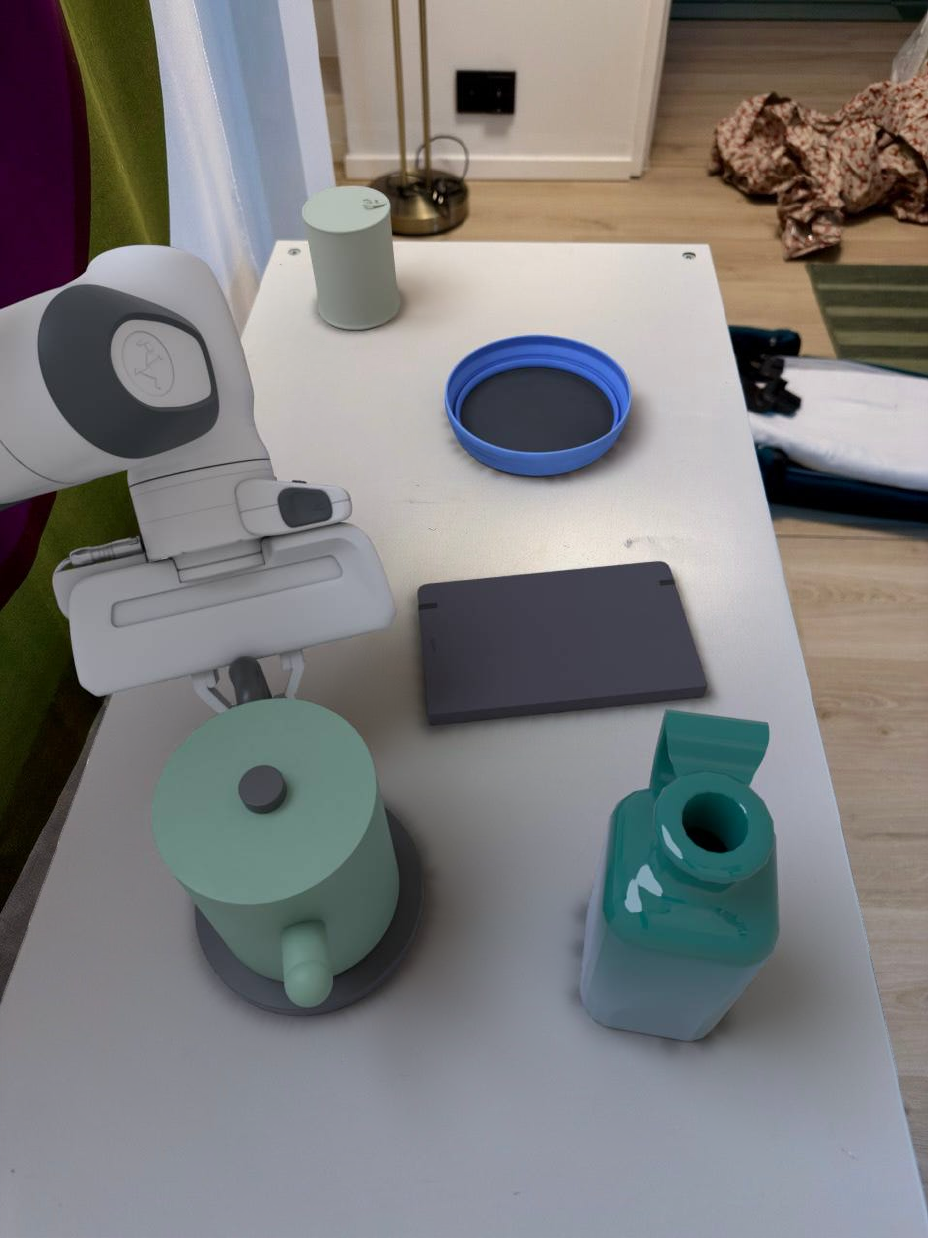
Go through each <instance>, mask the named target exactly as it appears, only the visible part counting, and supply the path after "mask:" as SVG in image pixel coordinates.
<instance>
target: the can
mask: <svg viewBox="0 0 928 1238" xmlns="http://www.w3.org/2000/svg"><path fill="white" fill-rule="evenodd" d="M301 217H302V219H303V223H304V228H305V233H306V238H307V243H308V244H307V245H308V248H309V254H310V259H311V265H312V271H313V277H314V282H315V288H316V295H317V298H318V299H317V301H318V306H317V307H318V313H319V316H320V317H321V319H322V320H323V321H324V322H325V323H326V324H328V325H330V326H332V327H334V328H338V329H341V330H345V331H363V330H364V331H366V330H369V329H370V330H371V329H374V328H376V327H380V326H382V325H384V324H386V323H387V322H389V321H390V320H392V319H394V318H395V316H396V315H397V314H398V312H399V310H400V307H401V299H400V294H399V290H398V280H397V272H396V263H395V262H396V261H395V252H394V243H393V241H394V240H393V229H392V218H391V203H390V200H389V198H388V197H387V196H386V195H385V193H383V192H381V191H379V190H377V189H375V188H372V187H368V186H363V185H342V186H341V185H340V186H335V187H331V188H327V189H324V190H322V191H319V192H317V193H316V194H314V195H312V196H310V197H309V199H307V201H306V202H305V203H304V204H303V206H302V209H301Z"/></svg>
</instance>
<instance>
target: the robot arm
mask: <svg viewBox="0 0 928 1238" xmlns="http://www.w3.org/2000/svg"><path fill="white" fill-rule="evenodd" d="M85 270H86V271H85V272H84V273H83V274H81V275H80V276H79V277H77V278H76V279H74V280H72V281H70V282H68V283H66V284H64V285H62V286H60V287H56V288H52V289H50V290H46V291H44V292H41V293H39V294H36V295H33V296H31V297H30V296H29V297H28V298H25V299H23V300H20V301H18V302H15V303H13V304H10V305H8V306H6V307H5V306H4V307H3V308H0V512H2V511H4V510H7V509H9V508H12V507H14V506H17V505H19V504H22V503H24V502H26V501H28V500H31V499H33V498H35V497H38V496H41V495H45V494H49V493H53V492H56V491H60V490H64V489H68V488H71V487H76V486H78V485H82V484H83V485H84V484H86V483H89V482H92V481H94V480H95V479H99V478H104V477H107V476H110V475H111V476H112V475H115V474H117V473H121V472H124V471H127V473H126V477H127V479H126V480H127V486H128V488H129V489H128V490H129V493H130V496H131V501H132V505H133V510H134V512H135V516H136V519H137V524H138V527H139V531H140V535H135V536H131V537H127V538H122V539H117V540H114V541H111V542H108V543H104V544H101V545H95V546H85V547H84V546H83V547H80V548H77V549H74V550H72V551H70V552H69V557H66V558H65V559H62V561H60V562H59V563H58V564H57V566H56V568H55V569H54V572H53V575H52V588H53V592H54V595H55V599H56V602H57V606H58V608H59V610H60V612H61V614H63V616H64V617H65V618H66V619H67V620H69V621H68V622H69V632H70V641H71V649H72V654H73V659H74V660H73V661H74V665H75V670H76V674H77V679H78V682H79V684H80V686H81V687H82V688H83V689H85V690H86V691H87V692H89V693H90V694H92V695H94V696H95V697H104V696H108V695H113V694H118V693H122V692H125V691H129V690H134V689H138V688H143V687H147V686H151V685H155V684H160V683H164V682H168V681H172V680H176V679H181V678H184V677H188V676H189V677H190V676H191V681H192V684H193V687H194V688H193V689H194V692H195V693H196V694H197V695H198V696H199V697H200V698H201V699H202V700H203V701H204V702H205V703H206V704H207V705H208V706H209V707H210V708H211V709H213V711H215V712H216V713H217V714H220V713H222V712H225V711H227V710H229V709H231V708H233V707H236V706H237V703H235V704H232V703H231V702H230V701H229V700H228V699H227V698H226V697H225V696H224V695H223V693H222V692H221V691H220V690H219V689H218V688H216V687H217V685H218V684H219V682H220V680H221V678H220V674H219V669H223V668H229V667H230V665H231V663H232V662H233V661H234V660H235V659H236V658H238V657H240V656H250V657H253V658H255V659H256V660H257V661H258V660H261V659H265V658H270V657H274V656H279V658H280V663H281V667H282V670H284V671H288V670H289V671H290V673H289V678H288V679H287V683H286V687H285V690H284V692H281V693H277V694H273V695H272V698H273V699H295V700H298V697H297V693H298V689H299V686H300V682H301V679H302V677H303V673H304V671H305V670H304V669H305V667H306V666H305V665H306V663H305V662H306V661H305V657H304V653H303V652H304V651H303V650H304V649H308V648H312V647H317V646H321V645H326V644H331V643H334V642H339V641H342V640H347V639H350V638H351V639H352V638H355V637H360V636H363V635H367V634H372V633H376V632H377V633H378V632H380V631H385V630H387V629H390V627H391V626H392V624H393V622H394V621H395V619H396V617H397V613H398V611H397V606H396V602H395V598H394V595H393V591H392V588H391V584H390V582H389V578H388V576H387V572H386V570H385V568H384V565H383V563H382V560H381V557H380V555H379V553H378V550H377V548H376V546H375V544H374V542H373V541H372V539H371V538H370V536H369V535H368V534H367V532H365V531H364V529H362V528H361V527H359V526H357V525H355V524H353V523H350V522H345V521H347V520H348V519H349V518H350V517H352V514H353V503H352V502H353V501H352V498H351V495H350V493H349V492H348V491H347V490H346V489H345V488H344V487H341V486H335V485H326V484H315V483H308V481H305V480H301V479H298V480H297V479H293V480H291V481H283V480H278V479H277V476H275V473H274V467H273V464H272V460H271V456H270V453H269V452H268V449H267V447H266V446H265V444H264V442H263V440H262V438H261V435H260V434H259V431H258V429H257V424H256V421H255V413H254V411H255V390H254V385H253V381H252V378H251V374H250V370H249V366H248V363H247V359H246V354H245V351H244V346H243V344H242V341H241V340H242V339H241V337H240V334H239V331H238V328H237V324H236V322H235V319H234V317H233V314H232V311H231V309H230V306H229V303H228V300H227V298H226V296H225V294H224V292H223V290H222V287H221V285H220V283H219V281H218V279H217V277H216V275H215V274H214V271H213V270H212V268H211V267H210V265H209V264H208V263H207V262H206V261H204V260H203V259H202V258H201V257H200V256H198V255H196V254H194V253H193V252H192V253H191V252H189V251H187V250H184V249H181V248H178V247H175V246H171V245H164V244H149V243H147V244H146V243H145V244H143V243H142V244H141V243H140V244H139V243H138V244H137V243H136V244H130V245H123V246H119V247H114V248H110V249H108V250H106V251H103V252H102V253H99V254H98V255H97V256H95V257H94V258H93V259H92V260H91V261H90V262H89V264H88V266H87V268H86V269H85ZM70 565H72V567H74V568H69V569H66V568H67V567H68V566H70Z"/></svg>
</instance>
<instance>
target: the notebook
mask: <svg viewBox="0 0 928 1238" xmlns="http://www.w3.org/2000/svg"><path fill="white" fill-rule="evenodd" d="M417 609H418V618H419V628H420V639H421V649H422V660H423V671H424V683H425V694H426V704H427V716H428V723H429V726H434V725H435V726H436V725H444V724H445V725H446V724H454V723H464V722H472V721H482V720H491V719H493V720H494V719H501V718H502V719H503V718H510V717H511V718H512V717H521V716H529V715H539V714H541V715H542V714H548V713H558V712H559V713H560V712H568V711H569V712H570V711H579V710H588V709H599V708H605V707H606V708H607V707H616V706H617V707H618V706H625V705H636V704H644V703H646V704H647V703H653V702H654V703H655V702H665V701H674V700H683V699H692V698H693V699H694V698H703V697H705V695H706V692H707V689H708V682H707V679H706V676H705V673H704V670H703V667H702V663H701V661H700V658H699V654H698V651H697V648H696V645H695V642H694V638H693V635H692V631H691V629H690V626H689V622H688V619H687V616H686V613H685V610H684V608H683V604H682V600H681V597H680V595H679V591H678V588H677V584H676V581H675V579H674V576H673V572H672V569H671V567H670V565H669V564H668V563H667V562H665V561H662V560H654V561H653V560H652V561H645V562H634V563H623V564H612V565H602V566H593V567H583V568H582V567H581V568H573V569H563V570H553V571H543V572H534V573H533V572H531V573H521V574H511V575H510V574H509V575H501V576H500V575H499V576H491V577H481V578H471V579H459V580H451V581H441V582H430V583H424V584H421V585H420V586H419V587H418V589H417Z"/></svg>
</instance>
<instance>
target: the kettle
mask: <svg viewBox="0 0 928 1238" xmlns="http://www.w3.org/2000/svg"><path fill="white" fill-rule="evenodd" d="M228 677H229V680H230V682H231V685H232V686H233V690H234V694H235V695H234V696H235V700H236V704H237V706H236V707H233V708H231V709H229V710H227V711H225V712H222V713H217V715H215V716H214V717H212V718H210V719H208V720H207V721H205V722H204V723H203V724H201V725H200V726H199V727H197V728H196V729H195V730H193V732H191V733H190V734H189V735H188V736H187V737H186V738H185V739H184V740H183V741H182V742H181V743H180V745H179V746H178V747H177V748H176V749H175V750H174V752H173V753H172V755H171V756H170V757H169V759H168V760H167V762H166V763H165V766H164V767H163V770H162V771H161V774H160V776H159V778H158V781H157V784H156V786H155V790H154V793H153V798H152V804H151V812H150V813H151V814H150V815H151V830H152V835H153V840H154V844H155V846H156V849H157V852H158V853H159V857H161V859H162V862H163V863H164V865H165V866H166V868H167V869H168V870H169V871H170V873H171V874H172V875H173V876H174V878H175V879H176V880H177V882H178V883H179V884H180V886H181V887H182V889H184V891H185V892H186V894H187V895H188V896H189V897H190V898H191V900H192V901H193V903H194V905H195V904H196V905H197V906H198V908H199V909H200V910H201V911H202V913H203V914H204V915H205V917H206V918H207V919H208V921H209V922H210V923H211V924H212V926H213V927H214V928H215V930H216V931H217V932H218V934H219V935H220V936H221V938H222V939H223V940H224V941H225V943H226V944H227V945H228V947H229V948H230V949H231V950H232V952H233V953H234V954H235V956H236V957H237V958H238V959H239V960H240V961H241V962H242V963H243V964H245V965H246V966H247V967H248V968H250V969H251V970H253V971H254V972H256V973H258V974H260V975H262V976H264V977H267V978H270V979H273V980H276V981H281V982H284V986H285V991H286V994H287V996H288V997H289V999H290V1000H291V1001H292V1002H293V1003H295V1004H296V1005H298V1006H301V1007H313V1006H316V1005H319V1004H320V1003H322V1002H323V1001H324V1000H325V999H326V998H327V997H328V995H329V994H330V992H331V989H332V985H333V976H335V975H337V974H340V973H342V972H343V971H345V970H347V969H349V968H351V967H352V966H354V965H355V964H356V963H358V962H359V961H360V960H362V959H363V958H364V957H365V956H366V955H367V954H368V953H369V952H370V951H372V949H373V948H374V947H375V946H376V945H377V943H378V942H379V941H380V940H381V938H382V937H383V935H384V933H385V932H386V930H387V929H388V927H389V924H390V922H391V920H392V918H393V915H394V912H395V909H396V906H397V901H398V896H399V871H398V866H397V861H396V857H395V852H394V848H393V844H392V839H391V835H390V831H389V826H388V822H387V818H386V813H385V809H384V807H385V805H384V801H383V800H384V799H383V796H382V793H381V788H380V783H379V779H378V775H377V771H376V766H375V762H374V760H373V757H372V754H371V751H370V749H369V746H368V745H367V744H366V741H365V740H364V738H363V737H362V735H360V733H359V732H358V731H357V729H356V728H355V727H353V725H351V723H350V722H349V721H347V720H346V719H345V718H343V717H342V716H341V715H339V714H338V713H336V712H334V711H333V710H331V709H329V708H327V707H324V706H322V705H320V704H317V703H314V702H311V701H306V700H302V699H297V700H295V699H273V695H272V692H271V690H270V687H269V685H268V682H267V679H266V676H265V674H264V671H263V668H262V666H261V664H260V662H259V661H258V660H256V659H255V658H253V657H250V656H240V657H238V658H236V659H235V660H234V661H233V662H232V663H231V665H230V666H228Z"/></svg>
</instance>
